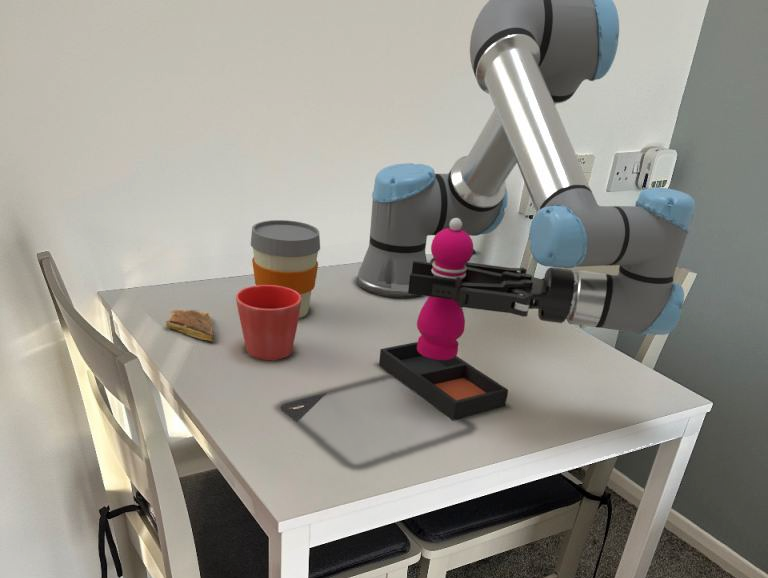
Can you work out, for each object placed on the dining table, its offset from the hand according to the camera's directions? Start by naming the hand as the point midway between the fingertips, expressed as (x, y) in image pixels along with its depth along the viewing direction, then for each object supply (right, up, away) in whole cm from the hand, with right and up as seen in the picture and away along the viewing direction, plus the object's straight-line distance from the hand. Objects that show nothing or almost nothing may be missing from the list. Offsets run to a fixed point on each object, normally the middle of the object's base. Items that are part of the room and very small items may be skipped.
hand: (411, 277), depth 113 cm
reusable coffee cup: (-23, +4, +35) cm, 42 cm away
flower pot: (-24, -7, +20) cm, 32 cm away
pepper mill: (+4, -10, +6) cm, 12 cm away
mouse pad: (-5, -20, +5) cm, 22 cm away
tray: (+5, -13, +15) cm, 21 cm away
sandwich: (-37, -2, +25) cm, 44 cm away
